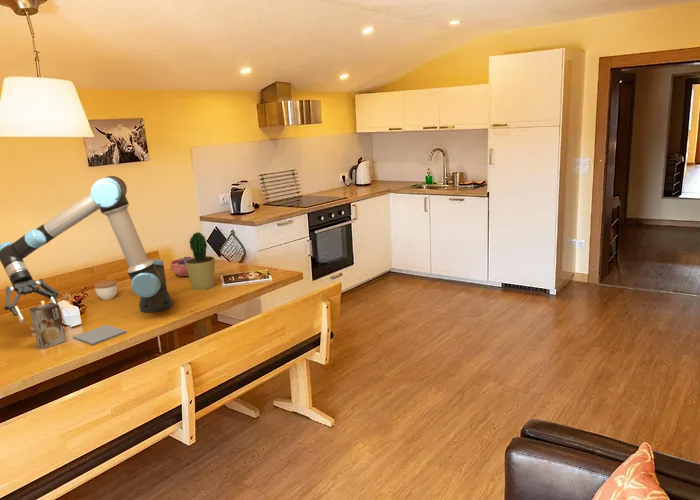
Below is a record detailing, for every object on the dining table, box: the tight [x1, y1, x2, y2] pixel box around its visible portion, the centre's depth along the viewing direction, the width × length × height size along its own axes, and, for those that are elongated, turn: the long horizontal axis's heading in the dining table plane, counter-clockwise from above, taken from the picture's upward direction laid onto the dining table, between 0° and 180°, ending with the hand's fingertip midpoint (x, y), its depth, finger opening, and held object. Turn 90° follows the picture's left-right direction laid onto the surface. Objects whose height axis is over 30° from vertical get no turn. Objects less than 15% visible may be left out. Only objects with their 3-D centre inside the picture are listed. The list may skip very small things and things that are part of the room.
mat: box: [72, 324, 127, 346], centre depth 227 cm, size 15×15×1 cm
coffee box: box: [29, 302, 67, 350], centre depth 220 cm, size 9×6×16 cm
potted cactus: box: [185, 231, 216, 291], centre depth 285 cm, size 15×15×30 cm
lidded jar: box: [93, 279, 118, 301], centre depth 278 cm, size 11×11×9 cm
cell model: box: [169, 256, 194, 277], centre depth 312 cm, size 17×20×11 cm
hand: (40, 316), depth 221 cm, fingers open, 13 cm apart
